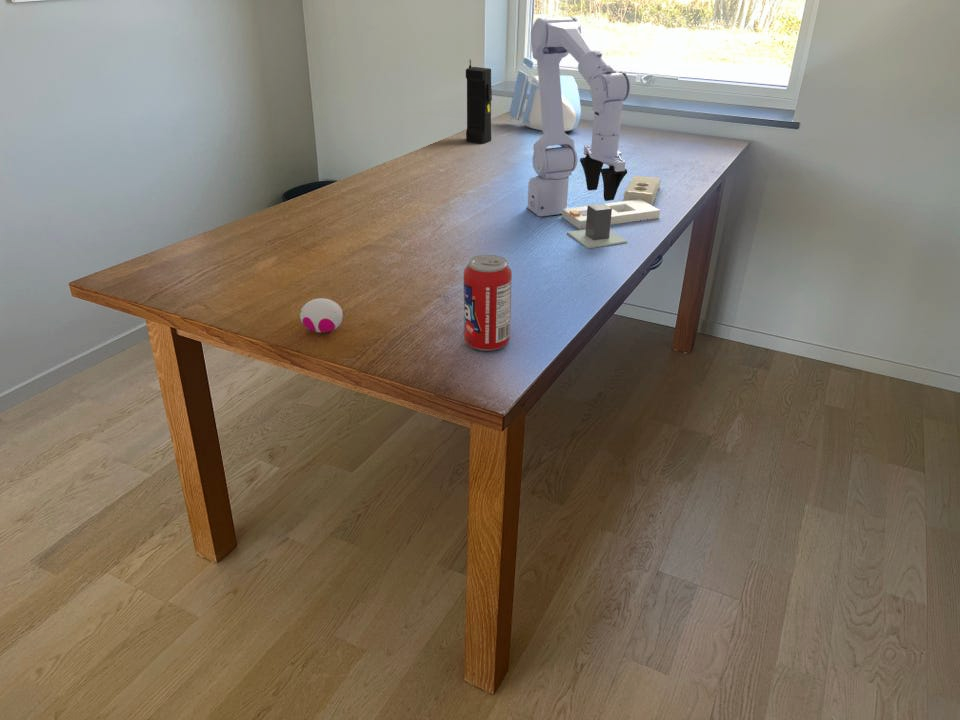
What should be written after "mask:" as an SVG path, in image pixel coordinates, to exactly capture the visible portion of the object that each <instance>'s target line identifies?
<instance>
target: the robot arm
mask: <svg viewBox="0 0 960 720" xmlns="http://www.w3.org/2000/svg"><path fill="white" fill-rule="evenodd" d="M530 42H531V43H530V44H531V52H532V58H533V59H534V60H536V65H537V68H536V69H538V70H537V76H538V80H539V91H540V103H541V115H542V127H543V131H542V135H541V136H540V137H539V138H538V139H537V140H536V142H535V143H534V144H533V145H532V146H533V149H532V150H533V154H532V160H531V161H532V168H533V170H534V171H535V173H536V175H537V176H534V177H533V176H532V177H530V178H529V181H528V188H527V204H526V206H525V207H526V209H528V210H530V211H531V212H532V213H533V214H535V215H536V216H538V217H548V216H550V217H551V216H554V215H555V216H557V215H562V211H563V209H567V208H570V207H569V206H568V196H569V195H568V194H569V182H570V181H569V178H570V176H572V174H573V173H572V172H574V171H575V170H576V167H577V165H578V161H579V162H580V165H581V166H582V169H583V173H584V177H585V183H586V189H587V191H597V190H598V187H599V182H600V178H601V177H602V182H603V183H602V184H603V199H604V200H603V201H605V202H609V201H614V200H615V197H616V195H617V192H618V190H619V187H620V185H621V182H622V181H623V179H624V178H625V176H626V175H627V174H628V169H626V161H625V160H623V159H622V154H623V152H621V151H620V150H619V143H620V132H621V122H622V113H623V102H624V101H626V100H627V99H628V98H629V94H630V91H631V84H630V83H631V82H630V79H629V77H628V75H627V73H626V72H625V71H618V70H615V69H614V68H613V67H612V66H611V64H610V63H609V62H608V61H607V60H606V58H605V57H604V56H603V53H602V52H601V51H600V50H591V48H590V46H589V44H588V43H587V42H586V40H585V39H584V37H583V35H582V26H581V22H579V21H578V18H576V17H575V16H569V17H568V16H567V17H551V18H546V17H545V18H543V17H542V18H541V17H539V18H536V19H535V21H534V23H533V25H532V28H531V30H530ZM569 54H570V55H571V57H572V58H574V60H575V61H576V62H577V63H578V65H577V71H578V72H579V74H580V75H581V76H582V78H583V79H584V80H585V82H586V83H587V84H588V86H589V87H590V90H589V92H590V93H589V94H590V97H591V100H592V102H591V103H592V105H591V108H592V111H594V112H593V124H592V134H591V144H589V145H584V146H583V155H584V156H585V157H581V158H579V159H578V152H577V151H576V147H575V146H576V145H575V140H574V139H573V138H571V136H569V134H566V131H565V132H564V121H563V108H562V95H561V82H560V76H561V72H560V71H561V70H560V64H561V61H562V60H563V58H565V57H567V56H568V55H569ZM552 146H557V147H552ZM558 146H559V147H558ZM604 164H605V165H606V166H608V167H607V168H606V167H605V168H604V167H603V166H604ZM600 176H601V177H600Z"/></svg>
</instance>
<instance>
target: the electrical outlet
mask: <svg viewBox="0 0 960 720" xmlns="http://www.w3.org/2000/svg"><path fill="white" fill-rule="evenodd" d="M660 184H661V177H655V176H644V175H643V176H642V175H636V174H634V175H633V177H632V179H631V180H630V181H629V183H628V184H627V187H626V189H625V190H624V193H623V201H629V200H637V199H641V200H643V201H645V202H647V203H648V204H650V205H652V206H653V205H654V203H655V200H656V198H655V197H657V196H658V195H657V194H658V193H657V192H659V190H660V186H661V185H660ZM653 202H654V203H653Z"/></svg>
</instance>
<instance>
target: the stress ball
mask: <svg viewBox="0 0 960 720" xmlns="http://www.w3.org/2000/svg"><path fill="white" fill-rule="evenodd" d="M299 313H300V314H299V319H300V322H301V323H302V325H304V326H305V327H306V329H308V330H310V331H312V332H315V333H320V332H323V333H328V332H331V331H334V330H335V329H337V328H338V327H339V326H340V325H341V324H342V321H343V319H344V312H343V310H342V307H341V306H340V305H339V304H338V303H337V302H336V301H333V300H331V299H329V298H325V297H324V298H314V299H312V300H309V301H307V302H306V303H305V304H303V306H302V308H301V310H300V312H299Z"/></svg>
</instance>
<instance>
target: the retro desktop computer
mask: <svg viewBox="0 0 960 720" xmlns="http://www.w3.org/2000/svg"><path fill="white" fill-rule="evenodd" d="M523 64H524V65H525V66H527V67H528V68H530V69H531V70H532V69H533V68H534V69H535V70H537V71H538V68H536V66H534V60H532V59H531V58H528V57H524V58H523ZM531 75H532V80H530V77H531ZM530 81H531V84H530ZM560 82H561V95H562V108H563V121H564V132H565V133H566V132H569V131H573V130H575V129H577V127H578V125H579V122H580V120H581V115H582V109H581V100H580V99H581V98H580V91H579V87H578V86H579V85H578V84H577V82H576V80H575V78H574V76H572V75H560ZM529 85H530V88H529ZM513 90H514V91H513V95H512V99H511V104H510V107H509V112H508V115H509V116H511V118H513V119H515V120H517V121H520V118H522V115H523V119H522V123H521V124H523V125H524V126H525V127H527V128H530V129H534V130H539V131H542V132H543V127H542V115H541V103H540V91H539V80H538V75H533V74H532V72H530V73H529V74H527V73H526V72H524V71H522V70H520V69H519V70H518V72H517V77H516V80H515V85H514V89H513ZM528 90H529V93H528ZM527 94H528V98H527ZM526 98H527V101H526ZM525 102H526V106H525ZM524 106H525V107H524ZM524 108H525V110H524ZM523 111H524V112H523ZM523 113H524V114H523Z"/></svg>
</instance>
